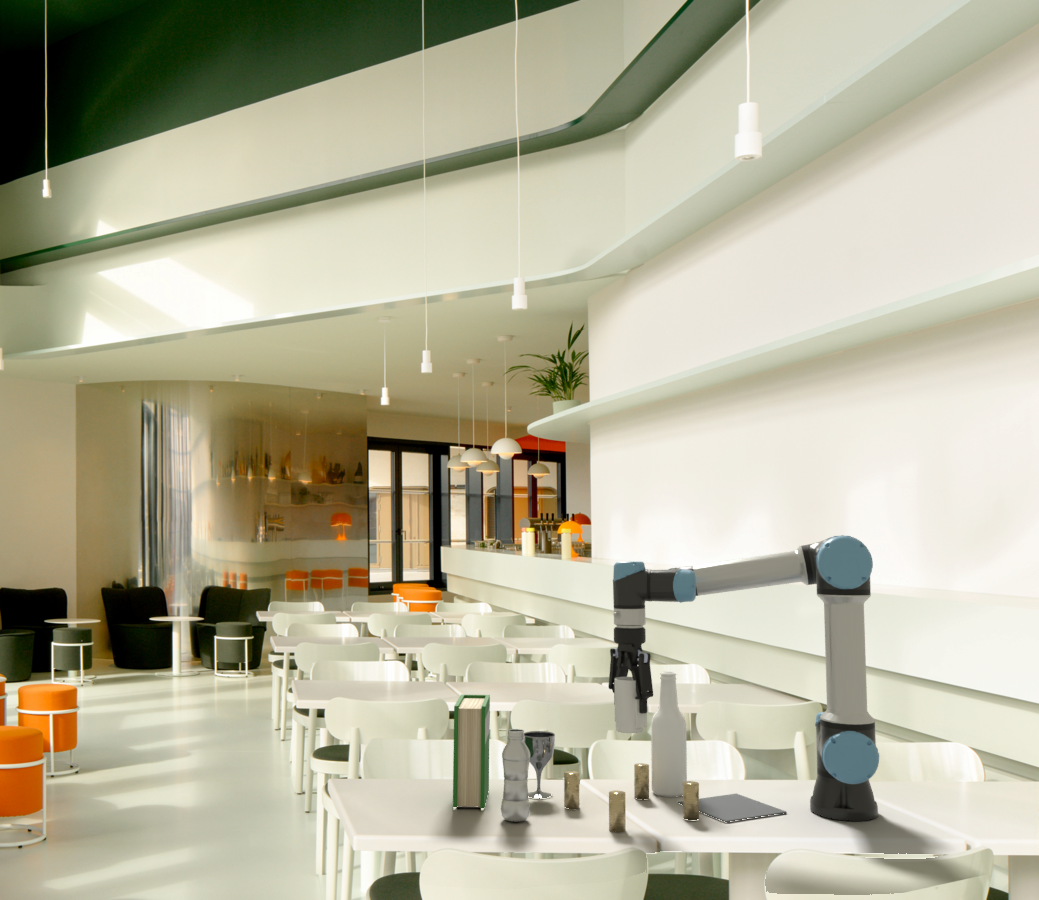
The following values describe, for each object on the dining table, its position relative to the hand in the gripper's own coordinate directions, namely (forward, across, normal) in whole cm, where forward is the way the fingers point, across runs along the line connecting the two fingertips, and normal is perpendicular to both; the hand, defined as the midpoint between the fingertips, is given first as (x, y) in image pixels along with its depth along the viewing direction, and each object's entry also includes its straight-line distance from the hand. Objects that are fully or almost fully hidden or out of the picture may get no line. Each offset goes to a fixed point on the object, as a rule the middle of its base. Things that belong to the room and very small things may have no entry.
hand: (630, 724), depth 223 cm
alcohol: (+21, -11, +19) cm, 30 cm away
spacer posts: (+20, 0, 0) cm, 20 cm away
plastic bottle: (+20, -6, -27) cm, 35 cm away
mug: (+2, 0, 0) cm, 2 cm away
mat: (+20, +7, +24) cm, 32 cm away
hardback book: (+20, -26, -29) cm, 44 cm away
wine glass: (+20, -23, -12) cm, 33 cm away
